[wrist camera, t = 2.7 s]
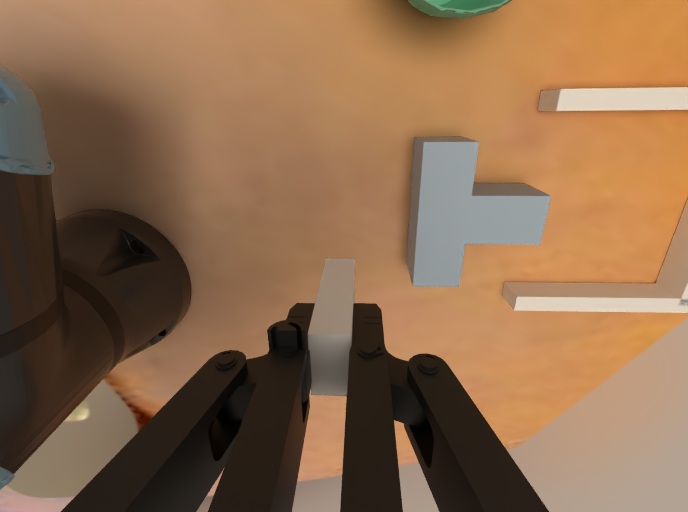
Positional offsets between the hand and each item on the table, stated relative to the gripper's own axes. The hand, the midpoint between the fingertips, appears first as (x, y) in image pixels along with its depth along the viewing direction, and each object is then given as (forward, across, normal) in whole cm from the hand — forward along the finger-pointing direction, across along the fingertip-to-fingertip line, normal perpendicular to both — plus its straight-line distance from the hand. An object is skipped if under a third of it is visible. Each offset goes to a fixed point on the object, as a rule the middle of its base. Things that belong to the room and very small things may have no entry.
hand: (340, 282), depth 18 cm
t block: (+16, +10, 0) cm, 18 cm away
